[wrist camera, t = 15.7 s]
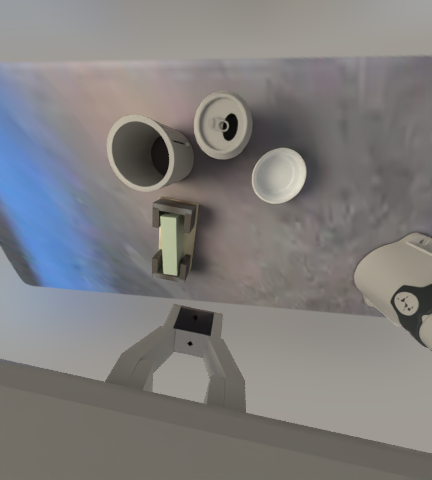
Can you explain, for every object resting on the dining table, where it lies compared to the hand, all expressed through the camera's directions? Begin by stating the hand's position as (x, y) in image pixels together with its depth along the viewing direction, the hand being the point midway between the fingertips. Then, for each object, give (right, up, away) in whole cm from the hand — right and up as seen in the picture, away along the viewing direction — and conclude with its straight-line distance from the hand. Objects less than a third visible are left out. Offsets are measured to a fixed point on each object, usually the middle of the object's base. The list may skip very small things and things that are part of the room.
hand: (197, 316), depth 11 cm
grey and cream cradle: (-8, +5, +31) cm, 32 cm away
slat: (-8, +5, +30) cm, 31 cm away
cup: (-7, +21, +24) cm, 32 cm away
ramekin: (+12, +17, +23) cm, 31 cm away
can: (+3, +23, +21) cm, 32 cm away
